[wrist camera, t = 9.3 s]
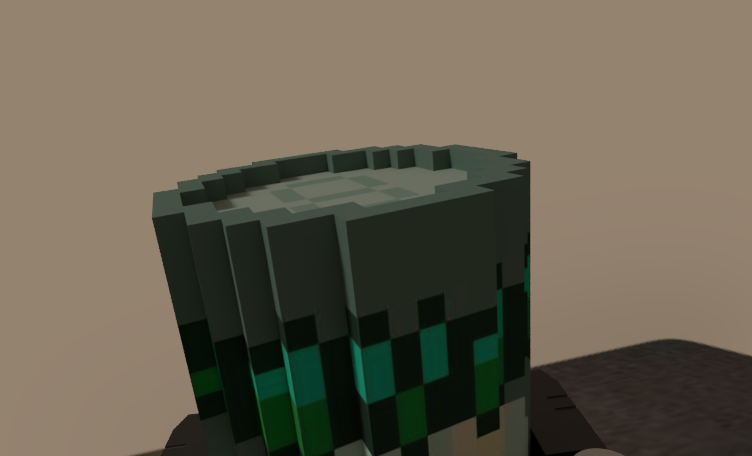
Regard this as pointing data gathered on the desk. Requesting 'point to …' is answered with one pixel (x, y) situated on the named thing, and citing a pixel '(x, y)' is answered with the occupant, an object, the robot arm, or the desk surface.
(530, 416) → the robot arm
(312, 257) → the can
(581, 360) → the desk surface
